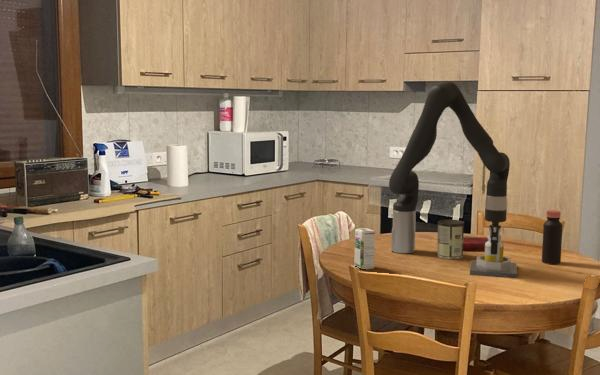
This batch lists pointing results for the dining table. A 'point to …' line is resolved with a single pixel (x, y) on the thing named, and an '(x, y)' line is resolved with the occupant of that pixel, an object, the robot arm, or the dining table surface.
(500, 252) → the pill bottle
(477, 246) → the hardcover book
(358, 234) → the syrup box
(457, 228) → the coffee can
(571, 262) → the dining table surface
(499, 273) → the collar base
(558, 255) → the vinegar
